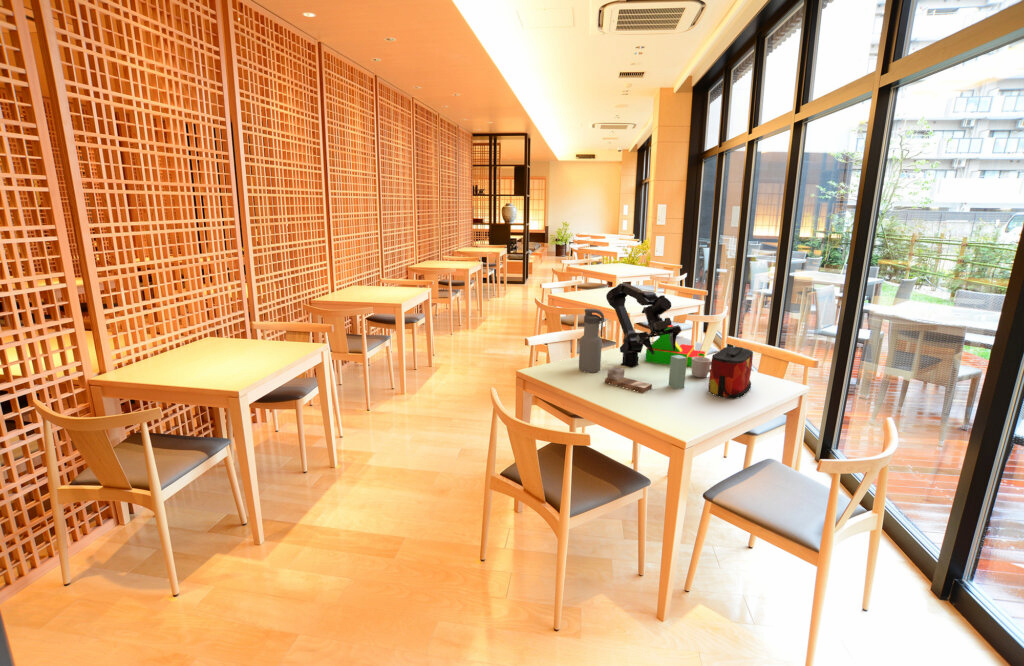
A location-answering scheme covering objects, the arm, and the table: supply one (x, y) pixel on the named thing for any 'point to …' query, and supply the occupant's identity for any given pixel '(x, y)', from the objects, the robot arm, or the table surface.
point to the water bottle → (591, 342)
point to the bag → (731, 372)
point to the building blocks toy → (671, 351)
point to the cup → (700, 366)
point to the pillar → (677, 371)
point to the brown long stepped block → (625, 380)
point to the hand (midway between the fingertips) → (664, 352)
